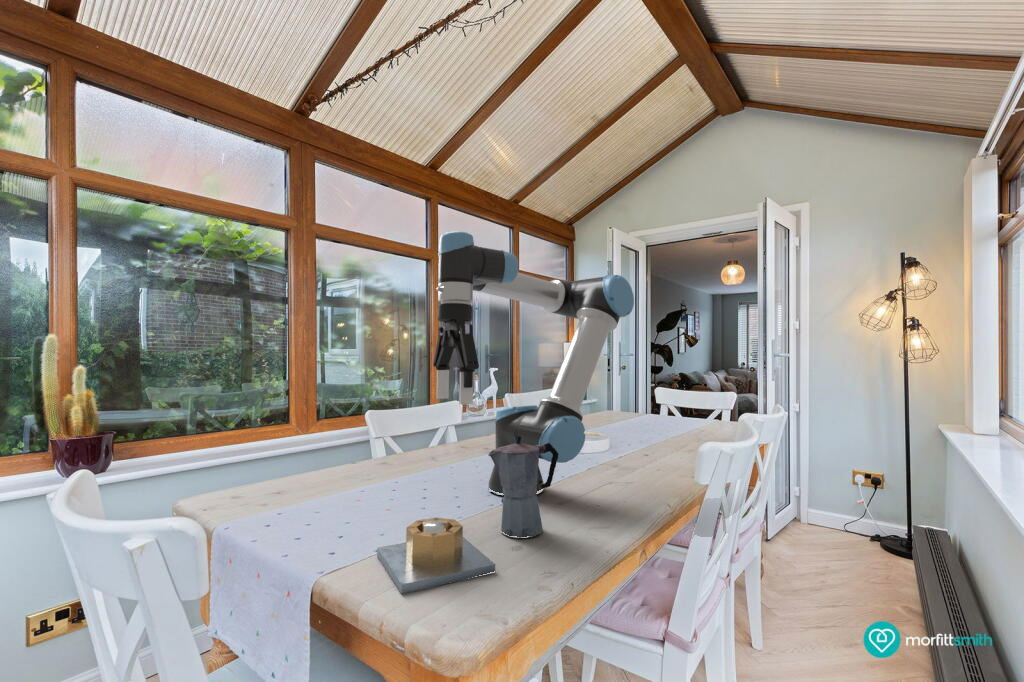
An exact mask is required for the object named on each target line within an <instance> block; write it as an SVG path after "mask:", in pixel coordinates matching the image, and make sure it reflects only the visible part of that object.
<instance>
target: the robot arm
mask: <svg viewBox="0 0 1024 682" xmlns="http://www.w3.org/2000/svg"><path fill="white" fill-rule="evenodd" d="M439 237H440V238H439V243H438V252H437V255H438V286H437V287H436V288H435V289H436V292H438V294H437V295H438V297H437V300H438V302H439V304H438V305H437V320H438V322H442V323H444V326H439V327H438V337H437V341H436V347H435V351H434V358H433V364H432V365H433V368H435V370H436V394H435V395H436V399H437V400H438V399H439V400H440V399H441V400H442V399H446V400H447V399H449V397H450V396H449V395H450V393H449V392H450V370H451V367H450V362H451V359H452V356H453V352H454V349H455V352H456V355H457V358H458V362H459V365H460V367H459V369H458V372H459V392H458V393H459V394H458V395H459V398H458V403H459V405H473V404H474V373H475V371H476V370H478V369H479V367H480V366H479V364H480V363H479V361H478V355H477V349H476V344H475V339H474V326H473V324H469V323H471V322H472V321H473V306H472V304H471V303H473V302H474V298H473V297H474V296H473V295H474V291H475V292H478V293H485V294H489V295H491V296H492V295H493V296H496V297H500V298H505V299H508V300H513V301H517V302H520V303H525V304H530V305H534V306H538V307H541V308H542V307H543V308H544V310H545V311H547V312H548V313H552V314H556V315H560V316H565V317H569V318H572V319H576V320H577V319H578V323H577V325H576V328H575V330H574V334H573V335H572V338H571V341H570V344H569V345H568V348H567V351H566V353H565V355H564V358H563V360H562V362H561V363H562V364H561V366H560V368H559V370H558V374H557V376H556V377H555V381H554V383H553V385H552V388H551V391H550V393H549V395H548V397H545V398H543V399H541V400H540V402H539V404H538V405H535V404H532V405H520V406H517V405H516V406H504V407H503V406H502V407H499V408H498V409H497V410H496V413H495V421H494V424H495V449H498V448H499V447H503V446H507V445H511V444H515V441H514V437H515V436H521V442H520V443H521V444H526V445H531V446H535V445H544V444H547V443H550V444H551V445H552V447H553V448H555V450H556V451H557V452H558V454H559V455H558V460H557V463H560V464H561V463H562V464H563V463H568V462H569V461H572V460H574V459H575V458H576V457H577V456H578V455H579V454H580V452H581V451H582V449H583V447H584V444H585V441H586V433H585V431H586V428H585V425H584V423H583V422H582V421H583V418H584V417H583V414H582V412H581V407H582V405H583V402H584V399H585V396H586V394H587V390H588V389H589V386H590V382H591V381H592V378H593V375H594V373H595V369H596V367H597V364H598V361H599V358H600V356H601V354H602V351H603V348H604V346H605V343H606V341H607V340H606V339H607V338H608V334H609V332H611V331H614V330H616V329H617V327H618V324H619V322H620V319H621V318H625V317H627V316H629V315H630V314H631V313H632V312H633V309H634V305H635V297H634V292H633V289H632V286H631V283H629V281H628V280H627V279H626V278H625V277H624V276H622V275H619V274H612V275H611V274H607V275H604V276H599V277H592V278H584V279H578V280H571V281H564V280H563V281H561V280H558V279H553V280H551V281H549V280H545V279H543V278H542V279H541V278H538V277H535V276H531V275H528V274H523V273H520V272H519V261H518V258H517V256H516V255H515V254H514V253H512V252H508V251H506V250H503V249H501V250H499V249H495V248H494V249H493V248H489V247H488V248H486V247H483V246H477V245H475V241H474V236H473V235H472V234H471V233H468V232H465V231H460V230H459V231H447V232H444V233H443V234H441V236H439ZM467 323H468V324H467ZM552 456H553V454H552V453H551V452H546V453H544V454H539V459H542V460H544V461H547V462H550V463H551V459H552ZM544 483H545V482H544V479H543V476H542V473H541V469H540V466H539V464H538V479H537V491H539V490H541V487H540V484H544ZM489 488H490V489H491V490H493V491H495V492H499V493H503V487H502V486H501V482H500V476H499V473H498V470H497V469H496V467H495V464H494V463H493V467H492V471H491V474H490V477H489V480H488V489H489ZM542 489H543V488H542Z"/></svg>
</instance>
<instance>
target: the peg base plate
mask: <svg viewBox="0 0 1024 682" xmlns="http://www.w3.org/2000/svg"><path fill="white" fill-rule="evenodd" d="M445 529H446V523H445V522H444V521H440V520H431V521H427V522H425V523H424V532H427V533H439V532H445ZM376 549H377V551H376V557H377V558H378V560H379V561H380V563H381V564H382V566H383V567H384V569H385V571H386V572H387V574H388V575H389V577H390V578H391V580H392V582H393V583H394V584H395V587H396V588H397V589H398V591H399V592H400V594H401V595H405V594H410V593H413V592H418V591H422V590H425V589H426V590H427V589H431V588H435V587H440V586H444V585H443V584H445V585H447V584H446V583H449V584H451V583H450V582H454V583H456V582H455V581H458V582H461V581H460V580H463V579H467V580H469V579H468V578H471V579H473V578H472V577H475V576H479V575H483V574H487V573H490V572H494V571H495V572H496V563H495V562H494V561H493V560H491V559H490V558H489V557H488V556H486V554H484V553H483V552H482V551H480V550H479V549H478V548H477V547H476V546H475V545H474V544H472V543H471V542H470V541H469V540H467V539H466V538H465V537H464V536H463V545H462V555H461V556H460V558H459V559H458V560H457V561H456V562H455V563H452V564H448V565H443V566H438V567H426V566H419V565H412V563H411V562H410V561H409V559H408V558H407V557H406V542H401V543H396V544H391V545H385V546H380V547H376ZM463 581H464V580H463Z"/></svg>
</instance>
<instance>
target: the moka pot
mask: <svg viewBox="0 0 1024 682" xmlns="http://www.w3.org/2000/svg"><path fill="white" fill-rule="evenodd" d="M514 441H515V444H511V445H507V446H503V447H499V448H498V449H496V448H495V449H492V450H491V451H489V453H487V456H489V457H490V458H491V461H492V462H493V465H494V464H495V467H496V469H497V470H498V473H499V476H500V482H501V486H502V487H503V494H504V497H503V496H502V497H501V503H502V510H501V512H502V514H501V523H500V524H501V525H500V527H501V528H500V532H501V531H502V532H504V533H505V534H507V535H509V536H517V537H527V536H534V537H536V536H535V535H537V534H539V533H540V532H541V533H543V524H542V517H541V512H540V505H539V500H538V495H537V494H536V493H537V479H538V465H539V462H540V460H539V459H540V458H539V454H544V453H546V452H551V453H552V454H553V456H552V459H551V462H550V465H549V468H548V469H549V470H548V476H547V479H546V481H545V482H544V484H540V487H541V489H542V488H544V489H546V488H550V487H551V486H552V481H553V478H554V473H555V469H556V467H557V463H558V462H557V460H558V455H559V454H558V452H557V451H556V450H555V448H553V447H552V445H551V444H550V443H547V444H544V445H535V446H531V445H526V444H521V443H520V442H521V436H515V437H514ZM541 533H540V534H541ZM540 534H539V535H540ZM537 536H538V535H537Z"/></svg>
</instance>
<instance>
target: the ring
mask: <svg viewBox="0 0 1024 682" xmlns="http://www.w3.org/2000/svg"><path fill="white" fill-rule="evenodd" d="M431 520H440V521H444V522H445V523H446V529H445V532H439V533H427V532H424V523H425V522H427V521H431ZM463 533H464V526H463V525H462V523H460V522H458V521H457V520H456V519H451V518H443V517H431V518H430V517H429V518H424V519H418V520H415V521H414V522H413V523H411V524H409V525H408V526H406V535H405V539H406V541H405V543H406V557H407V558H408V559H409V561H410V562H411V563H412V565H419V566H426V567H438V566H443V565H448V564H452V563H455V562H456V561H457V560H458V559H459V558H460V556H461V555H462V545H463V537H464V536H463Z"/></svg>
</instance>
